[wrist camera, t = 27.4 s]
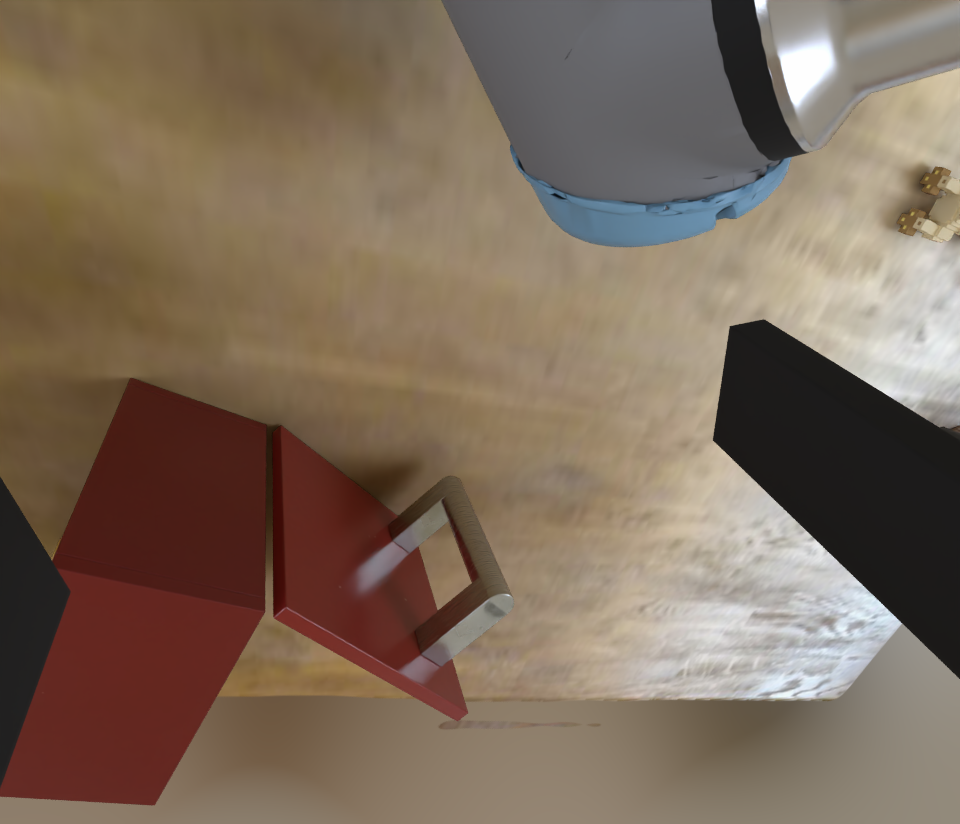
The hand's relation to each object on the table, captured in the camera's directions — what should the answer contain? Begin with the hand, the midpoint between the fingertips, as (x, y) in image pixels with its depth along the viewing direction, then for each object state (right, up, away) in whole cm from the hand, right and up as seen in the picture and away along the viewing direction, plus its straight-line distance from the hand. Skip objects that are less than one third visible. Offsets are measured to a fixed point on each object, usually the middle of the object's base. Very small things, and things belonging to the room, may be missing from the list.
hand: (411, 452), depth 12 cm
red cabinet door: (-7, -3, +42) cm, 43 cm away
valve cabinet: (-24, -5, +38) cm, 45 cm away
